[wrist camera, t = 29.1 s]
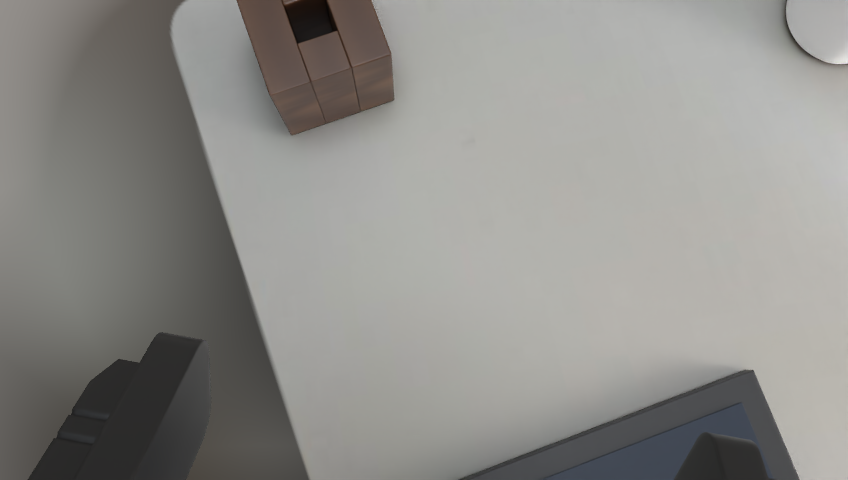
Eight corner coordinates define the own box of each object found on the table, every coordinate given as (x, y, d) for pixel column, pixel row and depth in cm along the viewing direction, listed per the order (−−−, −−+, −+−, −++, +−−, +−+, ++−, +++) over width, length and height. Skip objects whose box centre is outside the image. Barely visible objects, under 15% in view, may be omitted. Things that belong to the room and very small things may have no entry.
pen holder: (291, 135, 45) (269, 95, 38) (257, 38, 45) (229, -19, 39) (394, 100, 45) (391, 54, 38) (358, 4, 46) (349, -58, 39)
